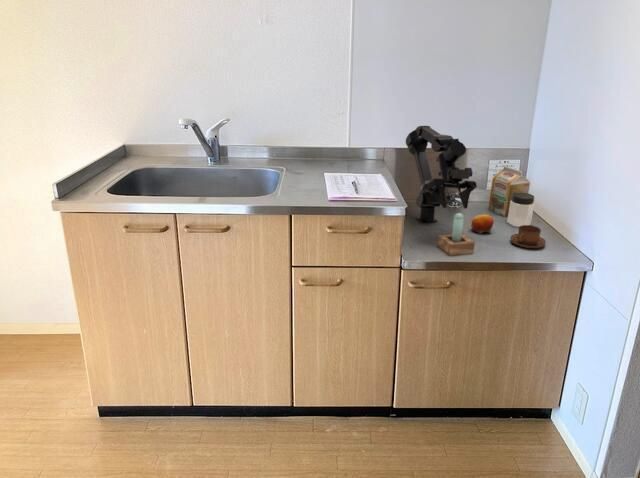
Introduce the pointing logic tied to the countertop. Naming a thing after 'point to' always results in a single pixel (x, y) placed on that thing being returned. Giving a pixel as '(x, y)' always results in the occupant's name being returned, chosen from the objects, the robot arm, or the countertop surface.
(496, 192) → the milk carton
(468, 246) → the wooden square socket block
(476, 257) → the countertop surface
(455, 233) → the dowel
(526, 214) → the jar
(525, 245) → the cup and saucer
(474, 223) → the fruit
